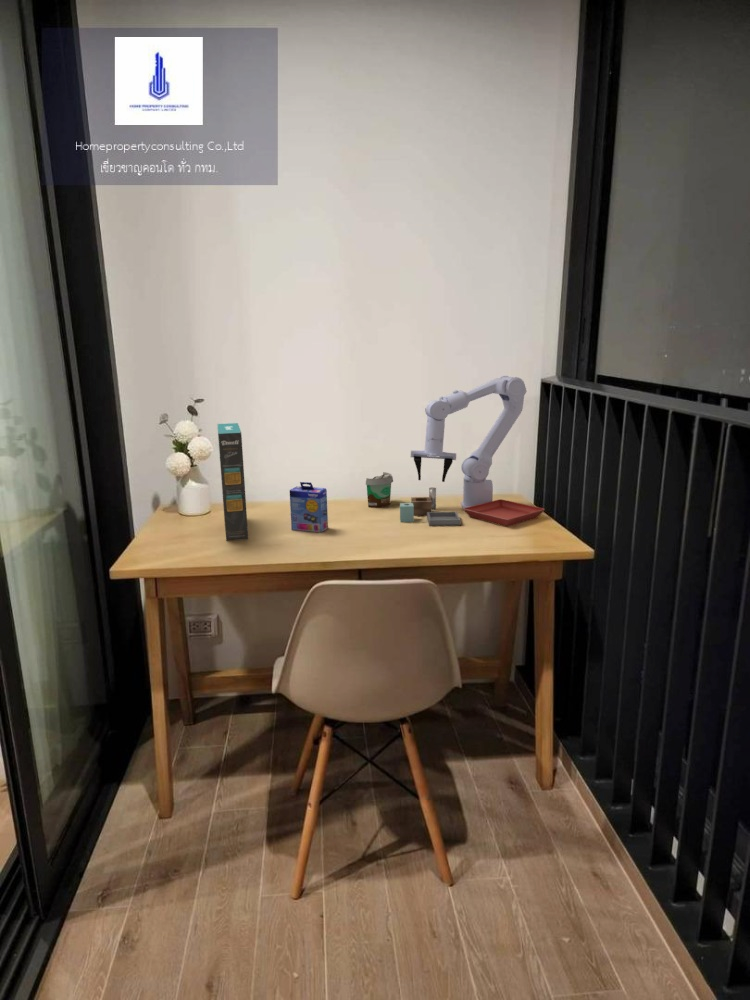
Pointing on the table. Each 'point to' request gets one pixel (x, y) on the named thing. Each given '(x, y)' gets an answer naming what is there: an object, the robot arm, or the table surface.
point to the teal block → (406, 512)
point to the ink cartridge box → (308, 508)
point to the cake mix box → (232, 481)
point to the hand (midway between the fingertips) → (431, 480)
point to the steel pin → (433, 497)
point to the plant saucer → (503, 512)
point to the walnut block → (421, 505)
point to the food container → (379, 490)
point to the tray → (443, 519)
